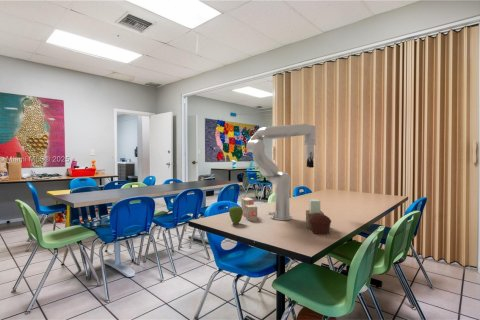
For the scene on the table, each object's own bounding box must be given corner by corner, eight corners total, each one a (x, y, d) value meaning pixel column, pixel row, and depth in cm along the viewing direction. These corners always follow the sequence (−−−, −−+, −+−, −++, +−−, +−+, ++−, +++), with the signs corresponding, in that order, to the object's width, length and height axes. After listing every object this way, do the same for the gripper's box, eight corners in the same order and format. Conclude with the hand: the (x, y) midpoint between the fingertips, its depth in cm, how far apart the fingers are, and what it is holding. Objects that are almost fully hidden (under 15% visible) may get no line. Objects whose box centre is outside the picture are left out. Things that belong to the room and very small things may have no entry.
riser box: (308, 228, 158) (308, 213, 158) (306, 224, 167) (305, 210, 167) (324, 229, 157) (324, 213, 157) (320, 225, 166) (320, 210, 166)
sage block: (310, 212, 159) (310, 201, 159) (309, 210, 165) (309, 199, 165) (320, 212, 159) (320, 201, 159) (318, 211, 164) (318, 199, 164)
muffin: (306, 232, 150) (306, 215, 150) (314, 228, 158) (314, 211, 158) (326, 237, 142) (326, 218, 142) (334, 232, 151) (334, 214, 150)
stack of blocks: (257, 220, 179) (257, 202, 179) (248, 221, 178) (248, 202, 178) (249, 213, 200) (249, 197, 200) (241, 214, 199) (241, 197, 198)
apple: (244, 222, 174) (244, 204, 173) (240, 225, 166) (240, 207, 165) (231, 221, 176) (231, 204, 176) (227, 225, 168) (227, 206, 168)
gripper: (302, 143, 199) (303, 166, 200) (306, 142, 182) (306, 167, 183) (313, 143, 199) (313, 166, 199) (317, 142, 181) (317, 167, 182)
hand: (310, 167), depth 191 cm, fingers open, 9 cm apart
